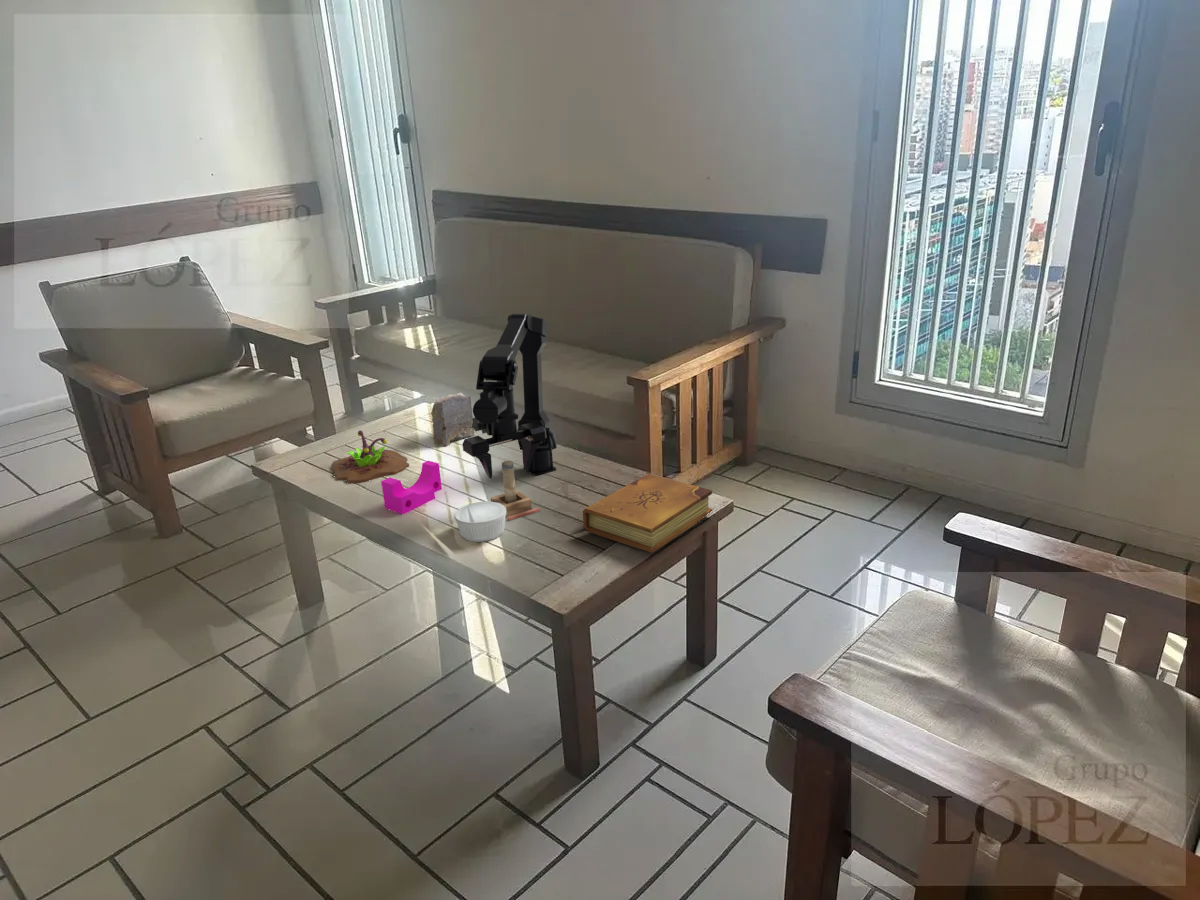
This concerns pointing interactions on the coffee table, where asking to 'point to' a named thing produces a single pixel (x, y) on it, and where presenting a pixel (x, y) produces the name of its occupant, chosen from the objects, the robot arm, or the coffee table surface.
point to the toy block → (412, 490)
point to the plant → (369, 463)
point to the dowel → (509, 481)
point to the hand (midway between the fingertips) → (508, 473)
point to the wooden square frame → (516, 505)
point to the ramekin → (481, 521)
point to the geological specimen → (452, 419)
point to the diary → (647, 512)
